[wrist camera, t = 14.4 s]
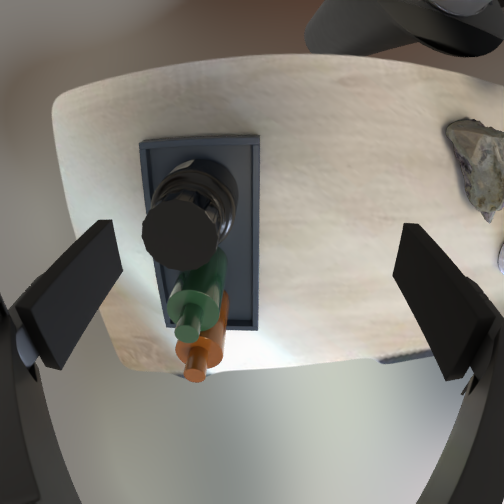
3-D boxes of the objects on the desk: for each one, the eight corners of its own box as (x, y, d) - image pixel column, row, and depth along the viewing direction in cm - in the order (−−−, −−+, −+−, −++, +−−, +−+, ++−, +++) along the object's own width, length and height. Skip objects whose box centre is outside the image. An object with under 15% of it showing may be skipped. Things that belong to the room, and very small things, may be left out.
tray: (144, 140, 35) (138, 142, 33) (259, 135, 34) (259, 137, 33) (169, 319, 47) (166, 327, 45) (258, 321, 47) (258, 330, 45)
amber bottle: (229, 283, 43) (218, 360, 31) (230, 315, 46) (221, 392, 33) (188, 283, 43) (164, 356, 31) (192, 314, 46) (173, 389, 34)
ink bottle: (176, 145, 35) (140, 170, 24) (249, 166, 36) (244, 199, 25) (159, 220, 39) (125, 269, 28) (226, 239, 40) (214, 295, 29)
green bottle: (227, 242, 40) (213, 313, 28) (228, 280, 43) (217, 356, 31) (183, 242, 40) (153, 310, 28) (188, 279, 43) (163, 352, 31)
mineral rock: (482, 213, 38) (522, 244, 29) (427, 203, 37) (466, 236, 29) (500, 130, 31) (547, 146, 23) (444, 110, 31) (492, 120, 22)
